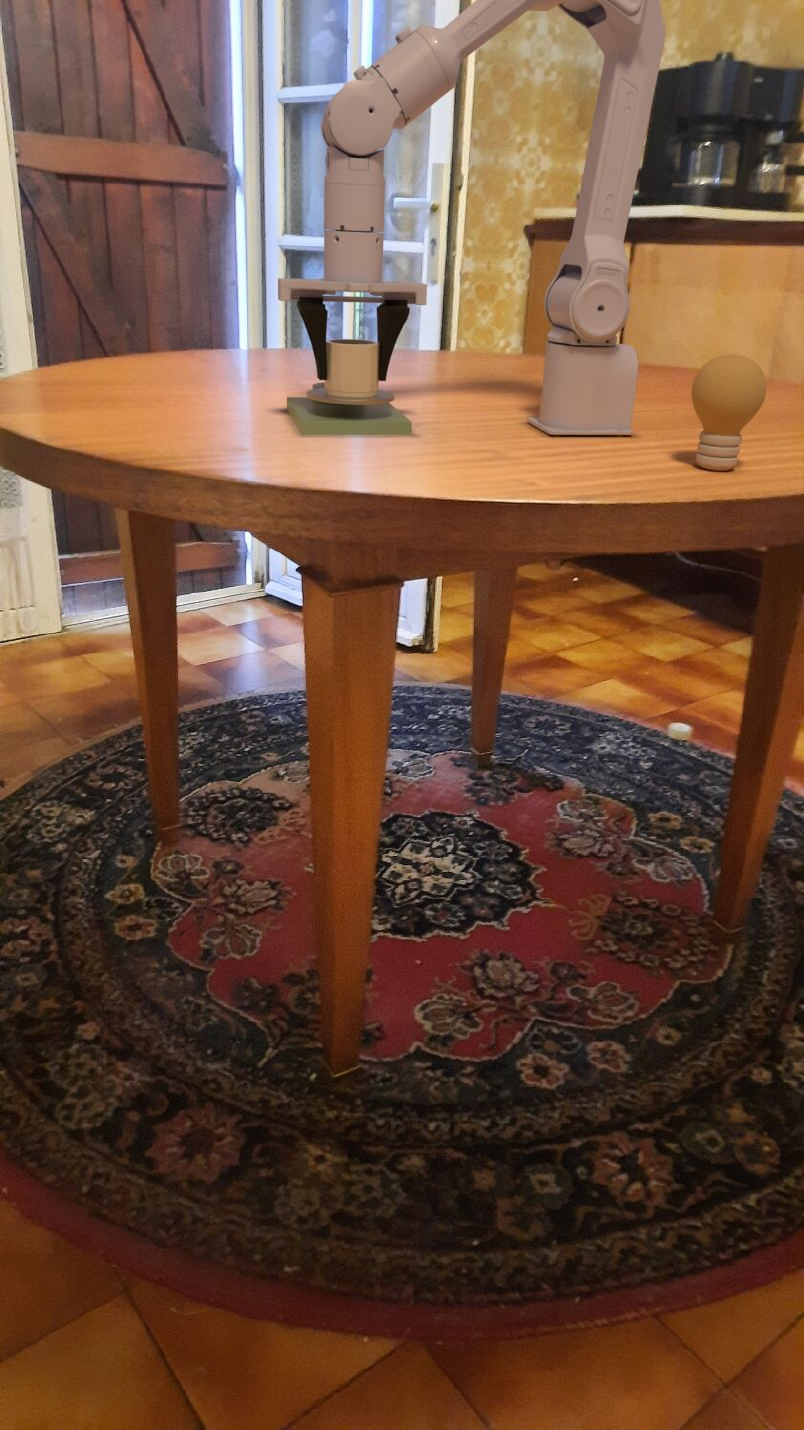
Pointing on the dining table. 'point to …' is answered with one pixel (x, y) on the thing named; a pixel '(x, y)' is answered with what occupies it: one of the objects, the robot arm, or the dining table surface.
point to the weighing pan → (323, 397)
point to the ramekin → (352, 368)
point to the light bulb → (725, 407)
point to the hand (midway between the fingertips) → (351, 379)
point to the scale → (346, 417)
